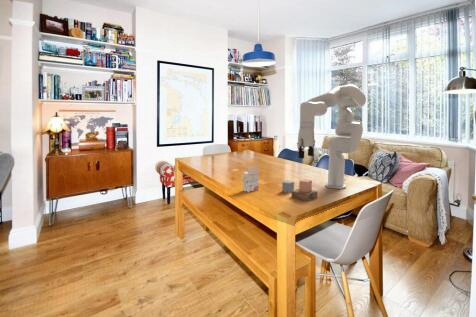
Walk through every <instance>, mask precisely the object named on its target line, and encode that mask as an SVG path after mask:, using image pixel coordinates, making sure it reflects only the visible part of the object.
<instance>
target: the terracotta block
mask: <svg viewBox="0 0 476 317" xmlns="http://www.w3.org/2000/svg"><path fill="white" fill-rule="evenodd" d="M312 185H313V180H312V179H307V178H302V179H300V180H299V184H298V189H299V191H301V192H306V193H308V192H310V191H312V190H313V188H312V187H313V186H312Z"/></svg>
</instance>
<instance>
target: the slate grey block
mask: <svg viewBox="0 0 476 317" xmlns="http://www.w3.org/2000/svg"><path fill="white" fill-rule="evenodd" d="M281 186H282V190H281V191H282V192H283V193H287V194H292V191H293V190H295V181H292V180H284V181H282V185H281Z"/></svg>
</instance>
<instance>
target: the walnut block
mask: <svg viewBox="0 0 476 317" xmlns="http://www.w3.org/2000/svg"><path fill="white" fill-rule="evenodd" d="M291 198H293V199H294V198H295V199H297V200H300V201H303V202H309V201H312V200H314V199H317V198H318V191H317V190H313V189H312V191H310V192H308V193H306V192H301V191H299V188H296V189H294V190H293V191H292V192H291Z"/></svg>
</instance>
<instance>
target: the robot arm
mask: <svg viewBox="0 0 476 317" xmlns="http://www.w3.org/2000/svg"><path fill="white" fill-rule="evenodd" d="M366 102H367V97H366V95H365V93H364V92H363V91H362V90H361V89H360V88H359V87H358V86H357V85H354V84H345V85H338V86H336V87H334V88H332V89H330V90H329V91H327V92H326V93H323V94H321V95H320V94H319V95H317V96H315V97H311V98H310V99H308V100H307V101H304V102H301V103H300V106H299V107H300V108H299V129H298V136H297V143H296V146H297V151H298V158H299V159H305V148H307V156H308V157H314V152H315V151H314V150H315V145H316V139H315V120H316V119H315V117H319V116H320V117H322V116H324V115H325V114H326V113H327V111H328V108H332V107H334V106H336V105H337V107H338V111H339V118H338V121H337V124H336V127H335V130H334V131H335V135H336V136H337V137H335V136H334V137H331V138H330V139H329V140H328V143H327V148H328V169H327V170H328V172H327V173H328V174H327V182H326V183H325V184H324V186H325V187H327V188H330V189H335V190H342V189H346V188H347V185H346V184H345V181H346V179H345V165H346V159H345V156H344V154H347V155H353V154H356V152H357V151H358V149H359V146H360V144H361V139H362V136H363V132H364V130H363V128H364V127H363V125H362V123H361V122H359V121H354V119H355V115H354V112H353V111H352V110H351V108H361V107H363V106H364V105H366Z"/></svg>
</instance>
